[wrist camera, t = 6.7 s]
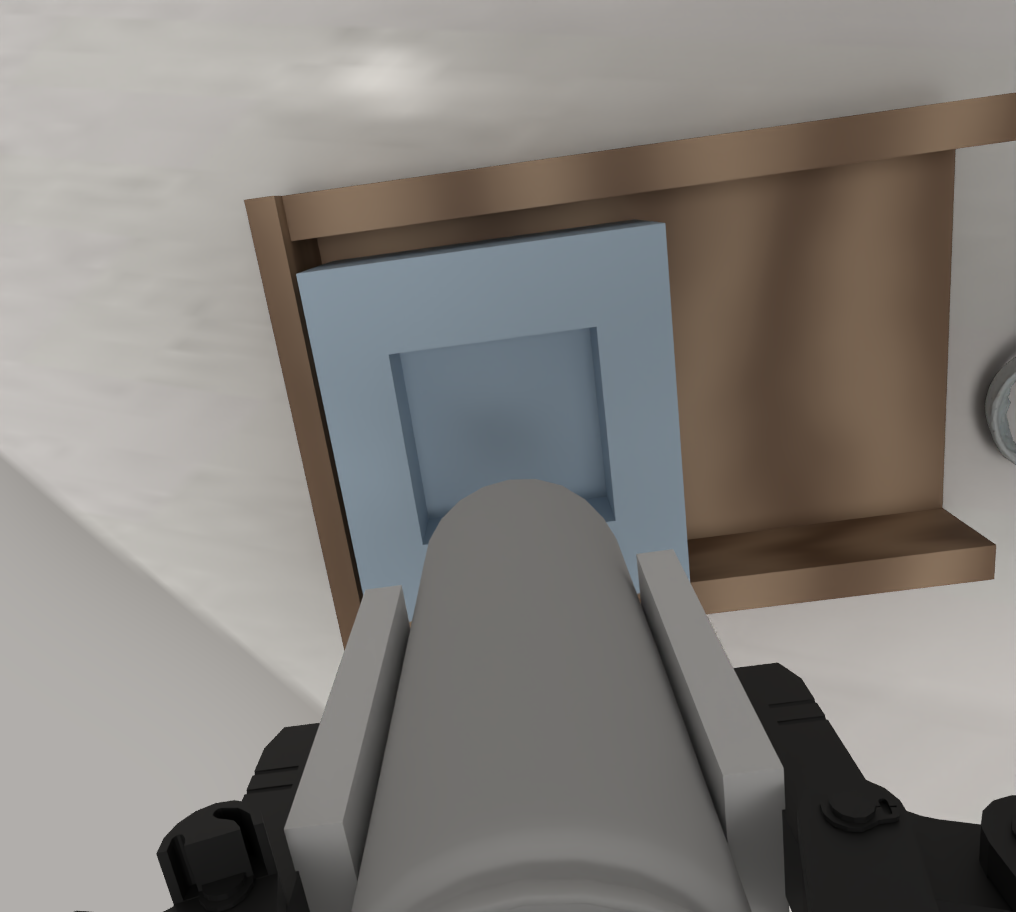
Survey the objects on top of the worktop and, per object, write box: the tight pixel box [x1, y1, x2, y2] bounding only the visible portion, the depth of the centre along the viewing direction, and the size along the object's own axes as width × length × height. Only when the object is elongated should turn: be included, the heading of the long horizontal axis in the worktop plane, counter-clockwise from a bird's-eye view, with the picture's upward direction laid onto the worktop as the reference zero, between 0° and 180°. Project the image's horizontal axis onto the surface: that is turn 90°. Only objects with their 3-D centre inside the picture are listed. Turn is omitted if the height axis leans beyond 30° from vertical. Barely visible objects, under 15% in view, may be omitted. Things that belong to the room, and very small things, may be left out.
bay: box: [244, 93, 1016, 651], centre depth 31 cm, size 26×18×6 cm
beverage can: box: [351, 479, 752, 912], centre depth 14 cm, size 5×5×12 cm
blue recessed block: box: [296, 219, 690, 622], centre depth 30 cm, size 12×13×6 cm
